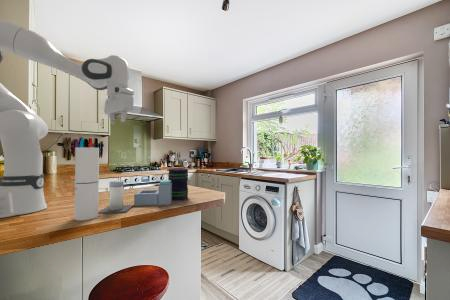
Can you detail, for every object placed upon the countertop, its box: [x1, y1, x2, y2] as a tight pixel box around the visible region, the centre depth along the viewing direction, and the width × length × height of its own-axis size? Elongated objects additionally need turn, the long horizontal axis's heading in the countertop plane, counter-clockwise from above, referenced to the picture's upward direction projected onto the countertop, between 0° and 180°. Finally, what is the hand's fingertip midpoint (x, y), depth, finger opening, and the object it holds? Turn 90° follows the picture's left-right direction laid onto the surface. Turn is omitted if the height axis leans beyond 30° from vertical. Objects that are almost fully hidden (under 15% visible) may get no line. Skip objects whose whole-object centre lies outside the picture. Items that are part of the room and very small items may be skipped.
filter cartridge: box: [109, 180, 125, 210], centre depth 84 cm, size 5×5×11 cm
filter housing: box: [133, 183, 172, 207], centre depth 96 cm, size 16×11×9 cm
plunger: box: [159, 179, 171, 185], centre depth 94 cm, size 4×4×7 cm
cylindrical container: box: [73, 146, 100, 221], centre depth 74 cm, size 7×7×25 cm
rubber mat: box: [98, 204, 134, 215], centre depth 84 cm, size 10×10×1 cm
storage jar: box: [168, 168, 189, 202], centre depth 105 cm, size 10×10×15 cm
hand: (117, 122), depth 95 cm, fingers open, 8 cm apart
